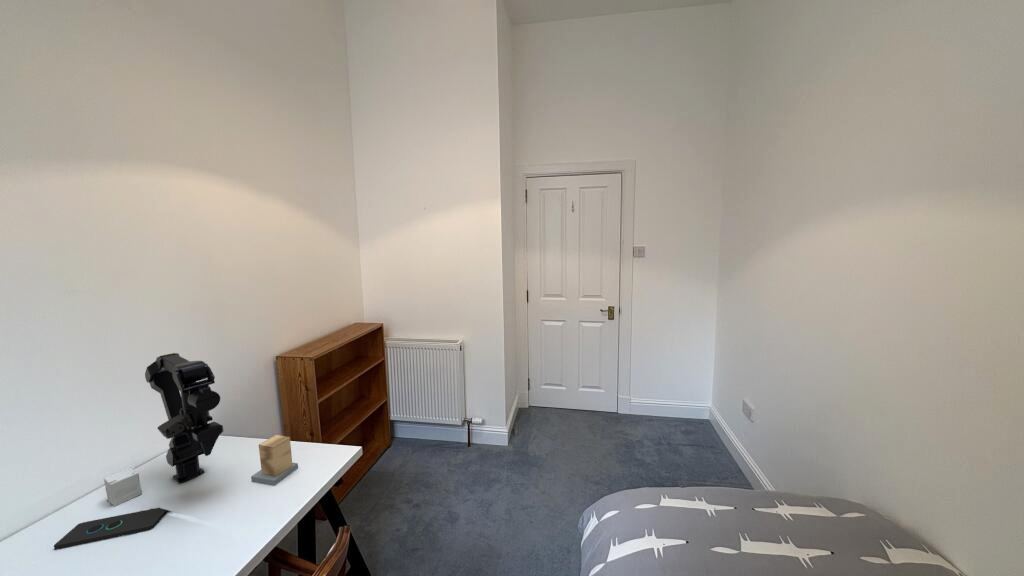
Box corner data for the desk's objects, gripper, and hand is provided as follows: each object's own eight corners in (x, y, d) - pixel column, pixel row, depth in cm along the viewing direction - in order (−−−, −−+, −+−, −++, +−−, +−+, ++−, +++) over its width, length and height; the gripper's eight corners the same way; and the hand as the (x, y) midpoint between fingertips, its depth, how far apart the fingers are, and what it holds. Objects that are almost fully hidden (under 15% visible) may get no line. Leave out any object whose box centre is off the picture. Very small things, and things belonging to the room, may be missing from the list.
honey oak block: (261, 473, 113) (258, 444, 112) (279, 462, 118) (276, 434, 117) (275, 476, 111) (272, 447, 110) (292, 465, 117) (289, 437, 116)
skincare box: (135, 488, 111) (131, 466, 110) (142, 494, 108) (138, 472, 108) (106, 500, 106) (103, 478, 105) (113, 507, 103) (109, 484, 102)
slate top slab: (251, 482, 112) (251, 476, 111) (276, 465, 120) (276, 459, 120) (274, 486, 110) (273, 480, 109) (298, 468, 118) (297, 463, 118)
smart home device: (79, 522, 96) (170, 504, 102) (80, 527, 96) (171, 509, 102) (51, 546, 88) (151, 525, 94) (52, 552, 88) (152, 531, 95)
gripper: (148, 407, 104) (155, 455, 106) (171, 422, 95) (178, 475, 97) (195, 393, 114) (201, 438, 116) (221, 405, 105) (227, 454, 107)
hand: (201, 451), depth 109 cm, fingers open, 9 cm apart
